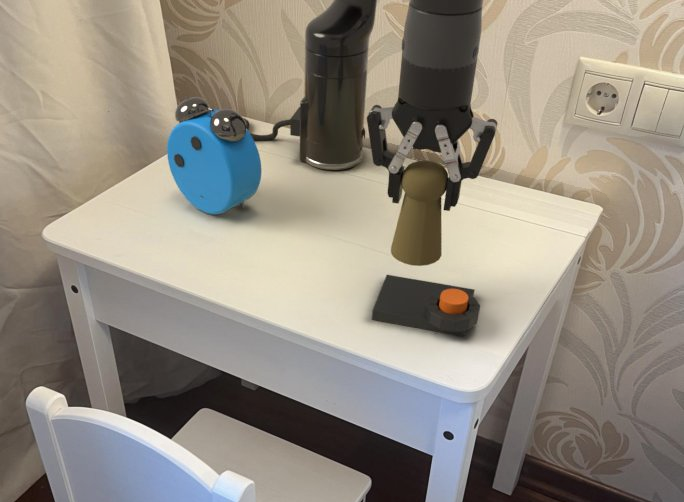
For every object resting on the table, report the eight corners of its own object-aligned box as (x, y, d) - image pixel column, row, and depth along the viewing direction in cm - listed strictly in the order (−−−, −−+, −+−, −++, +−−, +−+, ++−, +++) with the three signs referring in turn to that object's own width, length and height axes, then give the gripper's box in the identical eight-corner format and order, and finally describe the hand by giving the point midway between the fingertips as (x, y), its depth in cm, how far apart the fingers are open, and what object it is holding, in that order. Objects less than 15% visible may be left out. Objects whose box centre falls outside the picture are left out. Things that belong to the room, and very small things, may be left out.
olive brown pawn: (395, 235, 101) (404, 150, 94) (444, 242, 100) (457, 157, 92) (386, 261, 96) (394, 174, 89) (437, 269, 95) (450, 182, 88)
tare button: (436, 312, 95) (438, 301, 94) (441, 297, 98) (442, 286, 97) (464, 317, 95) (466, 306, 94) (468, 301, 97) (470, 291, 96)
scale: (369, 326, 98) (370, 305, 96) (385, 283, 104) (387, 263, 102) (472, 345, 95) (476, 324, 93) (482, 300, 102) (486, 279, 100)
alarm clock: (264, 213, 118) (261, 110, 108) (233, 230, 114) (228, 125, 104) (199, 184, 124) (192, 84, 114) (169, 199, 120) (158, 98, 110)
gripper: (516, 46, 84) (489, 197, 95) (377, 32, 87) (367, 180, 98) (508, 73, 78) (481, 230, 90) (361, 56, 81) (352, 210, 93)
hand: (421, 203), depth 94 cm, fingers closed on olive brown pawn, 5 cm apart
